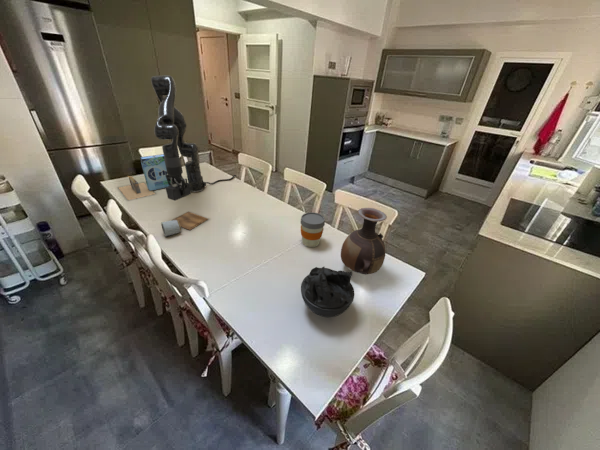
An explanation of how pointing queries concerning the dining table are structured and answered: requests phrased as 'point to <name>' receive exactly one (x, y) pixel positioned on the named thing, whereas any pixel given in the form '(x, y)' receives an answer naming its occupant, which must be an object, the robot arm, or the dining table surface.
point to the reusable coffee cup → (312, 228)
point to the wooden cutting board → (190, 220)
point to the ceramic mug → (171, 227)
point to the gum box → (154, 171)
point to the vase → (365, 244)
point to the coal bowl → (327, 291)
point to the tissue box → (176, 191)
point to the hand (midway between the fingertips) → (179, 194)
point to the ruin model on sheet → (135, 189)
